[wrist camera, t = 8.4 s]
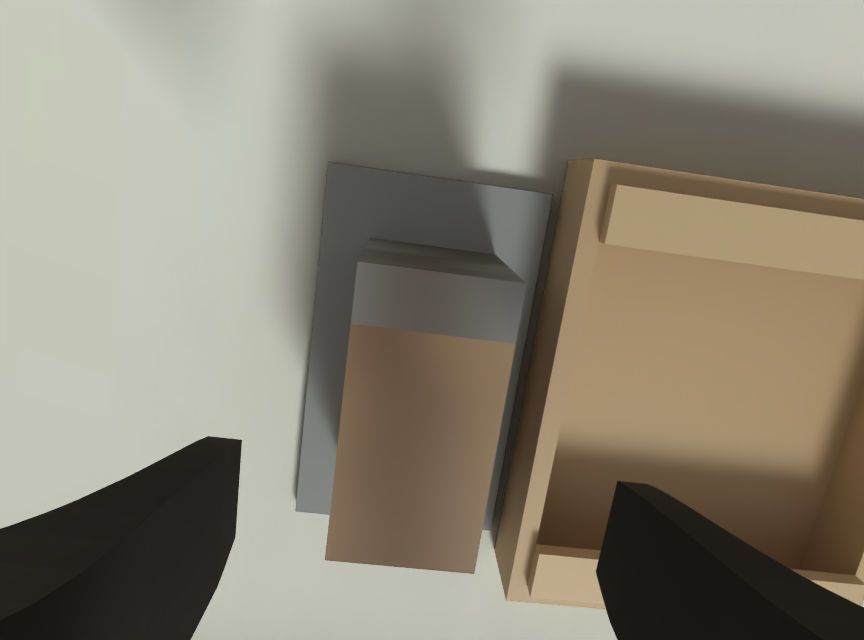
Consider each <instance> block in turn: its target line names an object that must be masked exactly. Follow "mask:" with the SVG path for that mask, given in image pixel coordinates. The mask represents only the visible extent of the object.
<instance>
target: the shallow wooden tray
mask: <svg viewBox="0 0 864 640" xmlns="http://www.w3.org/2000/svg"><path fill="white" fill-rule="evenodd" d="M617 481H625V482H634V483H643V484H649V485H651V486H653V487H655V488H658V489H659V490H661V491H663V492H665V493H667V494H669V495H670V496H672V497H674V498H675V499H677V500H679V501H680V502H682V503H684V504H685V505H687V506H688V507H690V508H692V509H693V510H695V511H696V512H698V513H700V514H701V515H703V516H704V517H706V518H707V519H709V520H711V521H712V522H714V523H715V524H717V525H718V526H720V527H722V528H723V529H725V530H726V531H728V532H730V533H731V534H733V535H734V536H736V537H738V538H739V539H741V540H742V541H744V542H746V543H747V544H749V545H750V546H752V547H754V548H755V549H757V550H759V551H760V552H762V553H764V554H765V555H767V556H769V557H770V558H772V559H774V560H776V561H777V562H779V563H781V564H783V565H784V566H786V567H788V568H789V569H791V570H793V571H795V572H796V573H798V574H800V575H802V576H803V577H805V578H807V579H809V580H811V581H813V582H814V583H816V584H818V585H820V586H822V587H824V588H826V589H828V590H830V591H832V592H834V593H836V594H838V595H840V596H842V597H844V598H846V599H848V600H850V601H852V602H854V603H856V604H858V605H860V606H861V605H862V603H863V600H864V199H861V198H854V197H848V196H841V195H834V194H827V193H821V192H814V191H807V190H801V189H794V188H787V187H781V186H774V185H767V184H761V183H754V182H747V181H740V180H734V179H727V178H720V177H714V176H707V175H700V174H694V173H687V172H680V171H674V170H667V169H660V168H653V167H647V166H640V165H633V164H627V163H620V162H613V161H607V160H600V159H582V160H569V161H568V166H567V171H566V176H565V182H564V187H563V192H562V198H561V203H560V208H559V213H558V219H557V224H556V229H555V235H554V240H553V245H552V250H551V256H550V261H549V266H548V272H547V277H546V282H545V287H544V293H543V298H542V303H541V309H540V314H539V319H538V324H537V330H536V335H535V340H534V346H533V351H532V356H531V361H530V367H529V372H528V377H527V383H526V388H525V393H524V398H523V404H522V409H521V414H520V419H519V425H518V430H517V435H516V441H515V446H514V451H513V456H512V462H511V467H510V472H509V478H508V483H507V488H506V493H505V499H504V504H503V509H502V515H501V520H500V525H499V530H498V536H497V541H496V546H495V555H496V559H497V563H498V568H499V572H500V576H501V580H502V585H503V589H504V593H505V597H506V601H518V602H529V603H540V604H551V605H562V606H574V607H585V608H596V609H606V607H605V604H604V601H603V597H602V593H601V590H600V586H599V582H598V578H597V575H596V568H597V564H598V560H599V556H600V551H601V547H602V543H603V539H604V535H605V531H606V526H607V522H608V518H609V514H610V510H611V505H612V501H613V497H614V493H615V489H616V485H617Z"/></svg>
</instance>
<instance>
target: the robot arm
mask: <svg viewBox="0 0 864 640" xmlns="http://www.w3.org/2000/svg"><path fill="white" fill-rule="evenodd" d="M241 444H242V440H237V439H228V438H219V437H210V436H208V437H206V438H203V439H201V440H199V441H196V442H194V443H192V444H190V445H188V446H186V447H184V448H183V449H181V450H179V451H177V452H175V453H173V454H171V455H169V456H167V457H165V458H163V459H162V460H160V461H158V462H156V463H154V464H152V465H150V466H148V467H146V468H144V469H142V470H140V471H138V472H136V473H134V474H132V475H130V476H128V477H126V478H124V479H122V480H120V481H118V482H115V483H113V484H111V485H109V486H107V487H105V488H102V489H100V490H98V491H96V492H94V493H92V494H89V495H87V496H85V497H83V498H81V499H79V500H76V501H74V502H72V503H69V504H67V505H64V506H62V507H59V508H57V509H54V510H52V511H49V512H47V513H44V514H41V515H39V516H36V517H33V518H30V519H27V520H25V521H22V522H19V523H16V524H14V525H11V526H8V527H5V528H2V529H0V640H191V638H192V636H193V634H194V632H195V630H196V628H197V626H198V624H199V622H200V620H201V618H202V616H203V614H204V612H205V610H206V608H207V606H208V604H209V602H210V600H211V598H212V596H213V594H214V592H215V590H216V588H217V586H218V584H219V581H220V578H221V576H222V573H223V570H224V568H225V565H226V562H227V559H228V556H229V553H230V551H231V548H232V545H233V542H234V539H235V533H236V518H237V503H238V489H239V474H240V459H241ZM596 575H597V578H598V582H599V586H600V590H601V593H602V597H603V601H604V604H605V607H606V610H607V614H608V617H609V620H610V623H611V625H612V628H613V630H614V632H615V635H616V637H617V639H618V640H864V607H862V606H860V605H858V604H856V603H854V602H852V601H850V600H848V599H846V598H844V597H842V596H840V595H838V594H836V593H834V592H832V591H830V590H828V589H826V588H824V587H822V586H820V585H818V584H816V583H814V582H813V581H811V580H809V579H807V578H805V577H803V576H802V575H800V574H798V573H796V572H795V571H793V570H791V569H789V568H788V567H786V566H784V565H783V564H781V563H779V562H777V561H776V560H774V559H772V558H770V557H769V556H767V555H765V554H764V553H762V552H760V551H759V550H757V549H755V548H754V547H752V546H750V545H749V544H747V543H746V542H744V541H742V540H741V539H739V538H738V537H736V536H734V535H733V534H731V533H730V532H728V531H726V530H725V529H723V528H722V527H720V526H718V525H717V524H715V523H714V522H712V521H711V520H709V519H707V518H706V517H704V516H703V515H701V514H700V513H698V512H696V511H695V510H693V509H692V508H690V507H688V506H687V505H685V504H684V503H682V502H680V501H679V500H677V499H675V498H674V497H672V496H670V495H669V494H667V493H665V492H663V491H661V490H659V489H658V488H655V487H653V486H651V485H649V484H643V483H634V482H625V481H617V485H616V489H615V493H614V497H613V501H612V505H611V510H610V514H609V518H608V522H607V526H606V531H605V535H604V539H603V543H602V547H601V551H600V556H599V560H598V564H597V568H596Z"/></svg>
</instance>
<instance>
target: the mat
mask: <svg viewBox="0 0 864 640" xmlns="http://www.w3.org/2000/svg"><path fill="white" fill-rule="evenodd" d="M552 196H553V194H547V193H540V192H533V191H526V190H519V189H512V188H505V187H498V186H491V185H484V184H477V183H470V182H463V181H456V180H449V179H442V178H435V177H428V176H422V175H415V174H408V173H401V172H394V171H387V170H380V169H373V168H366V167H359V166H352V165H345V164H338V163H331V162H328V169H327V179H326V190H325V201H324V211H323V222H322V233H321V243H320V254H319V265H318V275H317V286H316V297H315V307H314V318H313V329H312V339H311V350H310V361H309V371H308V382H307V393H306V403H305V414H304V425H303V435H302V446H301V457H300V467H299V478H298V489H297V499H296V510H295V511H297V512H308V513H318V514H328V515H330V509H331V500H332V491H333V482H334V472H335V463H336V454H337V445H338V436H339V427H340V417H341V408H342V399H343V390H344V381H345V372H346V362H347V353H348V344H349V335H350V326H351V317H352V307H353V298H354V289H355V280H356V271H357V262H358V260H359V258H360V256H361V254H362V252H363V250H364V248H365V247H366V245H367V243H368V241H369V239H370V238H377V239H384V240H392V241H399V242H406V243H414V244H421V245H429V246H436V247H444V248H451V249H459V250H466V251H474V252H481V253H488V254H495V255H496V256H498V257H499V258H500V259H501V260H502V261H503V262H504V263H505V264H506V265H507V266H508V267H509V268H510V269H511V270H513V271H514V272H515V273H516V274H517V275H518V276H519V277H520V278H521V279H522V280H523V281H524V282H525V283H527V284H526V290H525V295H524V301H523V306H522V312H521V317H520V323H519V328H518V334H517V339H516V345H515V350H514V356H513V362H512V367H511V373H510V378H509V384H508V389H507V395H506V400H505V406H504V411H503V417H502V422H501V428H500V433H499V439H498V444H497V450H496V456H495V461H494V467H493V472H492V478H491V483H490V489H489V494H488V500H487V505H486V511H485V516H484V522H483V527H482V530H491V524H492V519H493V514H494V508H495V503H496V498H497V492H498V487H499V481H500V476H501V471H502V465H503V460H504V454H505V449H506V444H507V438H508V433H509V427H510V422H511V417H512V411H513V406H514V400H515V395H516V390H517V384H518V379H519V374H520V368H521V363H522V357H523V352H524V347H525V341H526V336H527V330H528V325H529V320H530V314H531V309H532V303H533V298H534V293H535V287H536V282H537V276H538V271H539V266H540V260H541V255H542V249H543V244H544V239H545V233H546V228H547V223H548V217H549V212H550V206H551V201H552Z"/></svg>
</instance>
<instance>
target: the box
mask: <svg viewBox="0 0 864 640" xmlns="http://www.w3.org/2000/svg"><path fill="white" fill-rule="evenodd" d="M526 284H527V283H525V282H524V281H523V280H522V279H521V278H520V277H519V276H518V275H517V274H516V273H515V272H514V271H513V270H511V269H510V268H509V267H508V266H507V265H506V264H505V263H504V262H503V261H502V260H501V259H500V258H499V257H498V256H496V255H495V254H488V253H481V252H474V251H466V250H459V249H451V248H444V247H436V246H429V245H421V244H414V243H406V242H399V241H392V240H384V239H377V238H370V239H369V241H368V243H367V245H366V247H365V248H364V250H363V252H362V254H361V256H360V258H359V260H358V262H357V271H356V280H355V289H354V298H353V307H352V317H351V326H350V335H349V344H348V353H347V362H346V372H345V381H344V390H343V399H342V408H341V417H340V427H339V436H338V445H337V454H336V463H335V472H334V482H333V491H332V500H331V509H330V518H329V527H328V537H327V546H326V555H325V560H329V561H340V562H351V563H362V564H372V565H383V566H394V567H405V568H416V569H427V570H438V571H449V572H460V573H470V574H474V572H475V566H476V561H477V555H478V550H479V544H480V539H481V533H482V527H483V522H484V516H485V511H486V505H487V500H488V494H489V489H490V483H491V478H492V472H493V467H494V461H495V456H496V450H497V444H498V439H499V433H500V428H501V422H502V417H503V411H504V406H505V400H506V395H507V389H508V384H509V378H510V373H511V367H512V362H513V356H514V350H515V345H516V339H517V334H518V328H519V323H520V317H521V312H522V306H523V301H524V295H525V290H526Z"/></svg>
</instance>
